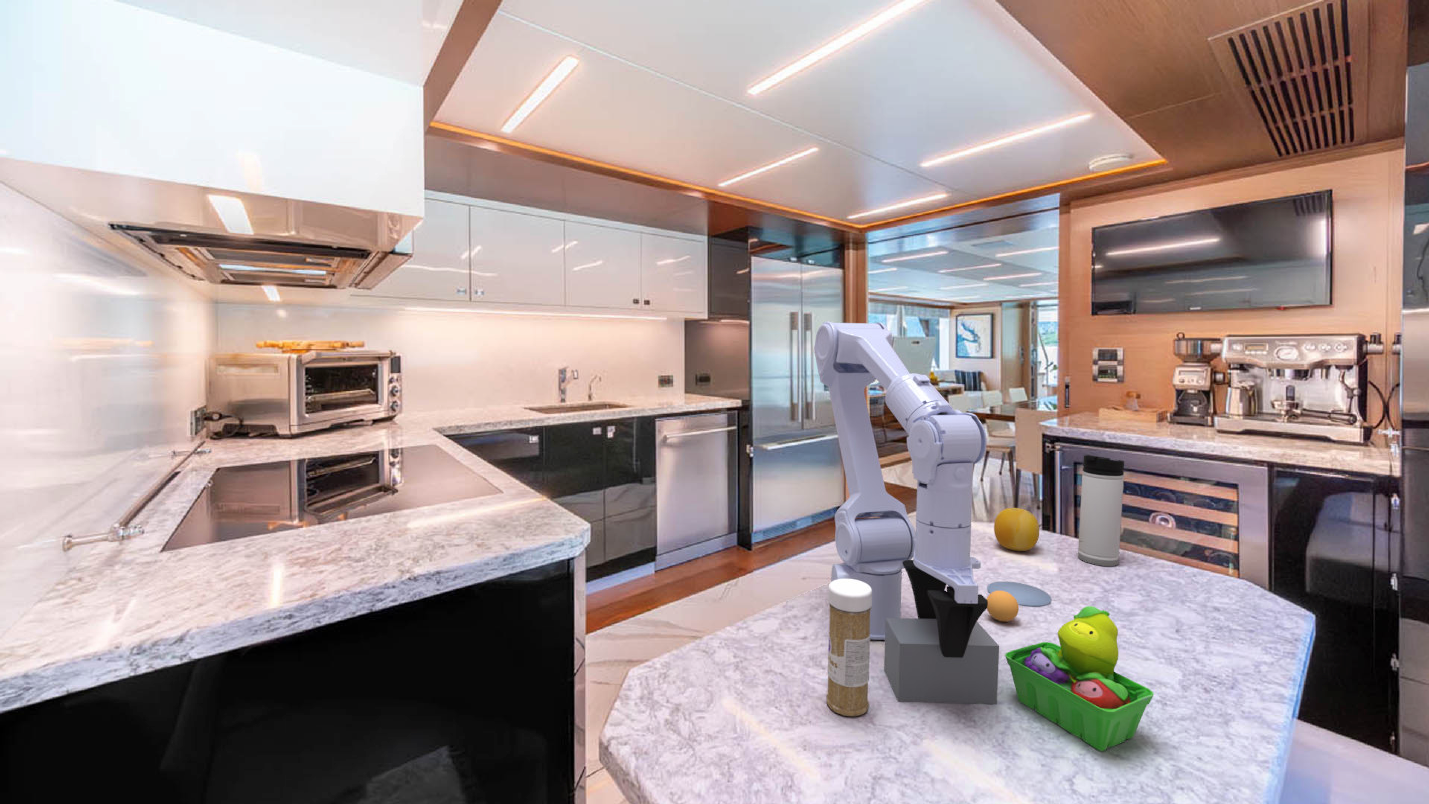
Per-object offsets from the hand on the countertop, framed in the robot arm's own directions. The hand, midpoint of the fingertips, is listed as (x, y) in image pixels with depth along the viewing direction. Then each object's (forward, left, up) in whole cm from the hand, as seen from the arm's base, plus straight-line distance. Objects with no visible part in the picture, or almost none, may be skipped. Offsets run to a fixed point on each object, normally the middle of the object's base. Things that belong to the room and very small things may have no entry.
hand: (939, 638), depth 63 cm
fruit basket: (+13, -5, -6) cm, 15 cm away
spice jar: (-11, -4, -6) cm, 13 cm away
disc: (+22, +26, -6) cm, 35 cm away
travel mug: (+44, +42, -6) cm, 61 cm away
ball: (+15, +17, -4) cm, 23 cm away
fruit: (+32, +48, -6) cm, 58 cm away
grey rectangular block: (0, 0, -6) cm, 6 cm away
